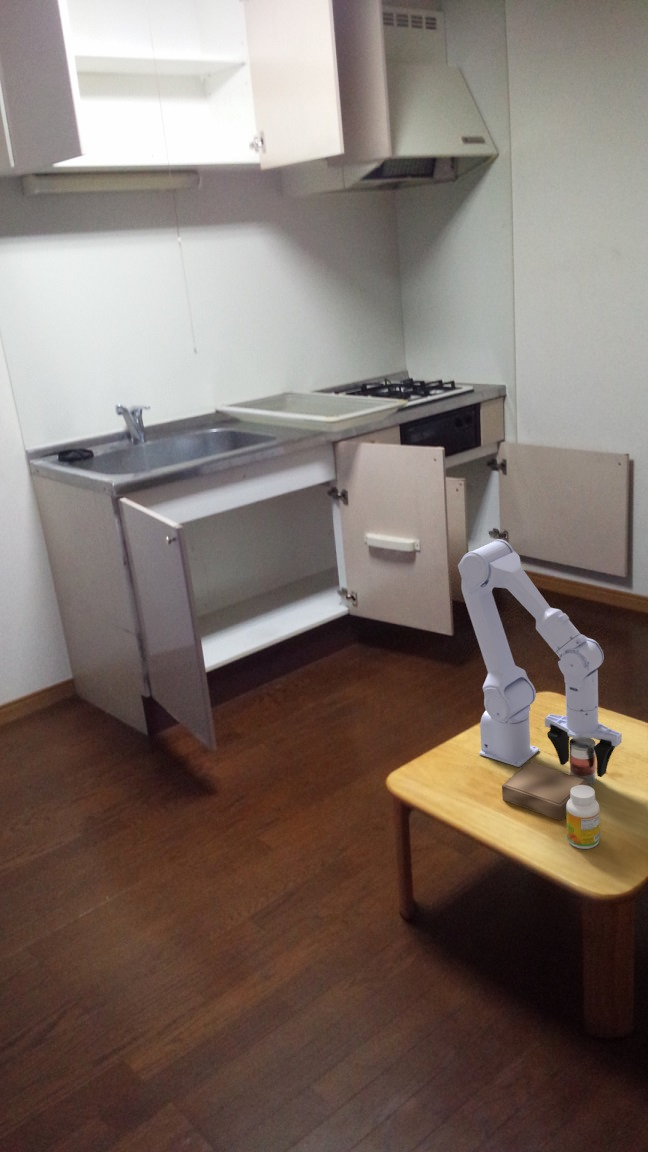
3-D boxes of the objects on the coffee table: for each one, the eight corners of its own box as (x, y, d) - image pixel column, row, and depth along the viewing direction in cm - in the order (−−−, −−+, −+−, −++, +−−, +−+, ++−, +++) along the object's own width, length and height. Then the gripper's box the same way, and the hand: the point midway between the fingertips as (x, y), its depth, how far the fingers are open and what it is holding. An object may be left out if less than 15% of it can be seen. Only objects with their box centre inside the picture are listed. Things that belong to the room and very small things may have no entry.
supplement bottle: (562, 833, 156) (561, 784, 153) (592, 828, 156) (592, 780, 153) (573, 851, 151) (572, 802, 148) (604, 847, 151) (604, 797, 148)
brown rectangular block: (502, 799, 168) (501, 785, 167) (530, 775, 174) (529, 761, 173) (561, 820, 160) (560, 805, 159) (587, 794, 166) (587, 779, 165)
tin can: (565, 781, 171) (564, 744, 168) (577, 770, 174) (576, 734, 172) (588, 789, 168) (588, 751, 165) (600, 777, 171) (599, 740, 168)
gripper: (535, 703, 168) (538, 766, 172) (609, 723, 158) (609, 789, 163) (554, 688, 173) (556, 750, 177) (626, 706, 163) (626, 772, 167)
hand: (582, 768), depth 170 cm, fingers open, 7 cm apart
